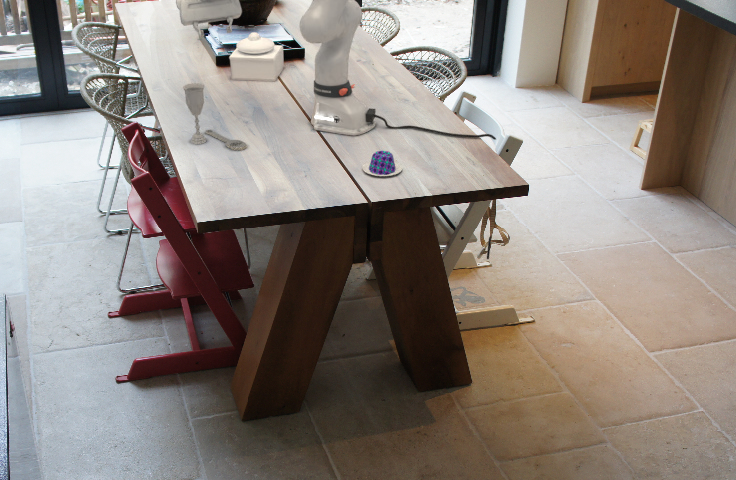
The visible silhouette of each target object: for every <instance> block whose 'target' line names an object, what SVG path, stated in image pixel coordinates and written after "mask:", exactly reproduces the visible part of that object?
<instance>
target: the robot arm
mask: <svg viewBox="0 0 736 480" xmlns="http://www.w3.org/2000/svg"><path fill="white" fill-rule="evenodd" d="M175 4H176V8H177V9H178V11H179V19H180V23H181V25H183V26H184V27H185V26H186V27H187V26H192V27H193V29H194V31H196V32H197V34H198V38H204V37H205V33H204V29H201V28H200V27H199V24H208V23H214V22H219V21H227V23H228V25H226V27H225V30H226V33H227V34H232V32H233V29H232V26H233V25H232V24H233V21H234V19H239V18H240V17H241V16H242V14H243V9H242V6H241V2H240V0H175ZM362 19H363V12H362V8H361V6H360V4H359V2H357V1H356V0H312V1H311V4H310V5H309V7H308V9H307V10H306V12H304V14H303V15H302V16H301V17H300V20H299V32H300V34H301V37H302V38H303V39H304V40H305V41H306V42H307V43H309V44H313V45H314V44H316V45H317V44H320V47H319V49H318V50H317V52H316V54H315V57H314V80H313V94H314V101H313V108H312V115H311V119H310V124H311V125H312V126H313V130H314V131H319V132H326V133H332V134H340V135H345V136H346V135H347V136H351V137H352V136H354V137H355V136H359V135H363V134H366V133H367V132H369V131H372V130H373V129H374V128H375V126H376V125H377V124H376V121H375V118H377V119H379V120H382V121H383V123H384V125H385V126H386V128H388V129H393V130H400V129H402V130H403V129H415V130H419V131H423V132H429V133H434V134H439V135H444V136H449V137H458V138H475V139H476V138H484V137H487V138H491V139H492V140H493V141H494V140H497V137H495V136H494V135H493V134H490V133H483V134H463V133H462V134H461V133H452V132H446V131H440V130H435V129H431V128H427V127H423V126H416V125H401V126H400V125H399V126H392V125H389V123H388V121H387V119H386V118H384V117H383V116H381V115H378V114H376V113H377V111H376V108H371V107H370V108H368V107H367V105H366V104H365V103H364V102H363V101H362V100H360V98H358V96H356V95H355V93H354V92H353V89H354V88H355V85H356V84H354V83H353V84H351V82H350V80H349V61H350V59H349V58H350V52H351V48H352V44H353V41H354V37H355V34H356V31H357V29H358V28H359V26H360V24H361V23H362ZM492 237H493V235H490V236H489V237H488V243H487V251H486V254H487V255H486V260H490V253H491V244H492Z"/></svg>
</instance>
